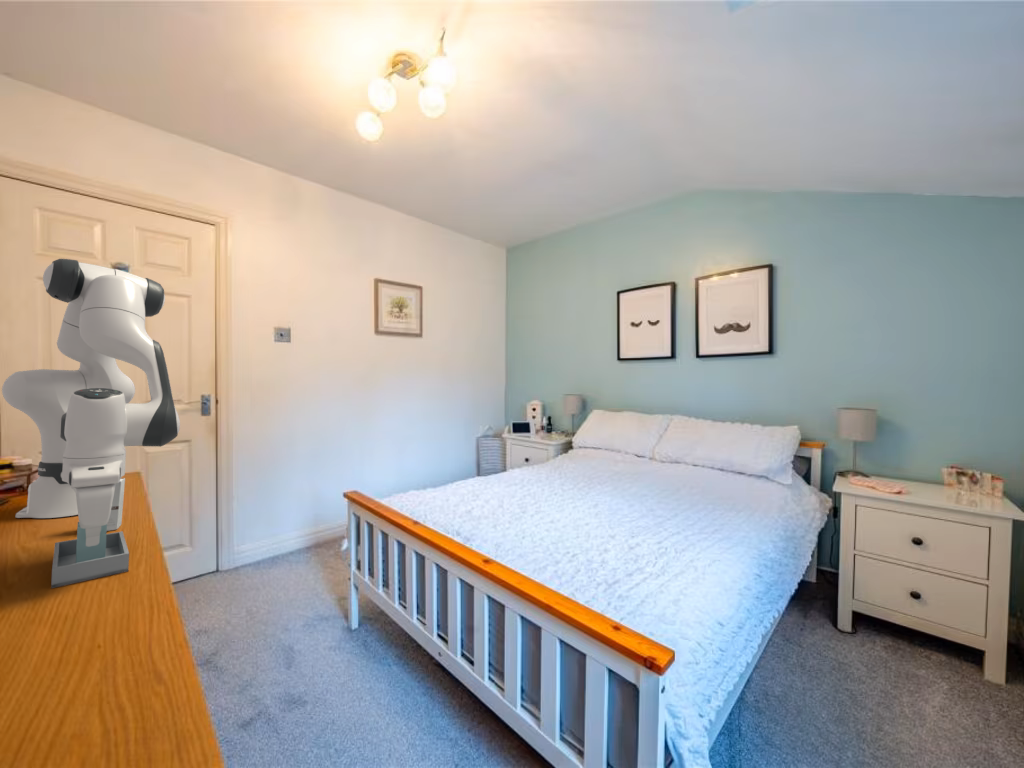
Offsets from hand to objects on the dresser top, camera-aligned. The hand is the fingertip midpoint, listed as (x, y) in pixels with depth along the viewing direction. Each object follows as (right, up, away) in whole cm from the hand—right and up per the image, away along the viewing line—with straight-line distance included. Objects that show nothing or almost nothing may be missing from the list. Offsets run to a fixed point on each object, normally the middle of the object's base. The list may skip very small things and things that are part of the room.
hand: (91, 538), depth 81 cm
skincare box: (-17, -5, +19) cm, 26 cm away
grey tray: (0, -6, 0) cm, 6 cm away
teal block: (0, -5, 0) cm, 5 cm away
